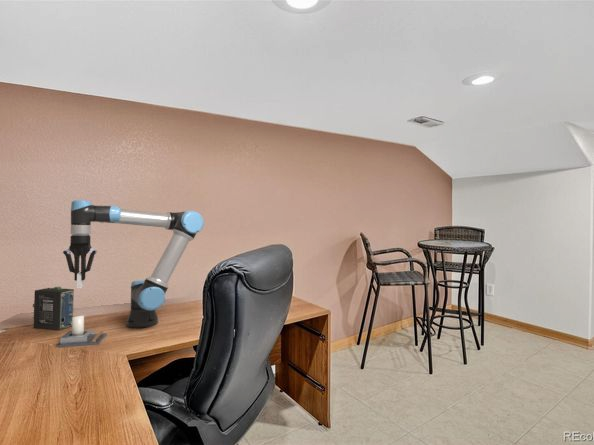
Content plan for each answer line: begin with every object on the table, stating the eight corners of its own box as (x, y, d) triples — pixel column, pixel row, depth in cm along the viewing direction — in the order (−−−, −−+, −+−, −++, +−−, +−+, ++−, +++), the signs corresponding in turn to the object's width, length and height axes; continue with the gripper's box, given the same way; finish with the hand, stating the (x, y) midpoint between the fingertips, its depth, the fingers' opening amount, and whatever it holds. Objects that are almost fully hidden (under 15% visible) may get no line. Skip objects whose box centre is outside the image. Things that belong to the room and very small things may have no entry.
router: (61, 330, 165) (62, 289, 165) (30, 328, 168) (32, 288, 169) (75, 326, 172) (76, 287, 173) (45, 323, 176) (46, 285, 176)
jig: (106, 335, 159) (106, 327, 159) (98, 344, 146) (99, 336, 146) (67, 337, 154) (67, 330, 154) (56, 347, 142) (56, 339, 142)
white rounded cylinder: (84, 337, 153) (85, 314, 153) (82, 340, 148) (82, 317, 149) (73, 338, 151) (74, 315, 151) (70, 341, 147) (70, 317, 147)
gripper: (99, 234, 156) (98, 285, 156) (67, 234, 152) (66, 286, 152) (94, 235, 149) (93, 288, 148) (60, 235, 145) (59, 289, 145)
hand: (79, 287), depth 150 cm, fingers closed
